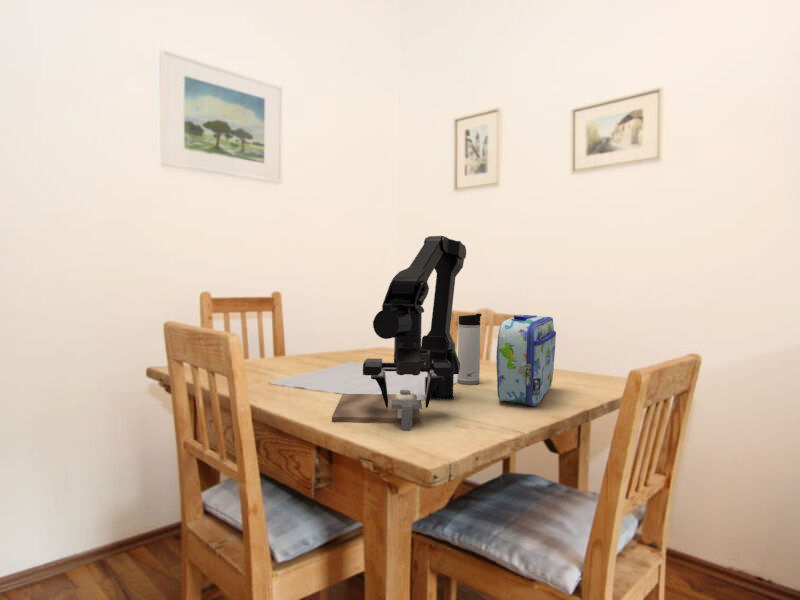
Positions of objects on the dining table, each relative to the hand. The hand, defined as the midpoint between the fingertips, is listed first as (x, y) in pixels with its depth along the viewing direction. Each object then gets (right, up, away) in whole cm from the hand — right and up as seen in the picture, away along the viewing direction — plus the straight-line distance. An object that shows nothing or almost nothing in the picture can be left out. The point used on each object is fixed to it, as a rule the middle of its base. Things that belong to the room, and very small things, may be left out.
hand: (406, 407), depth 105 cm
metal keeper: (0, -2, -7) cm, 8 cm away
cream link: (0, 0, +1) cm, 1 cm away
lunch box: (+30, -2, +18) cm, 36 cm away
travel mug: (+18, -1, +35) cm, 40 cm away
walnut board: (-6, -1, +4) cm, 8 cm away
